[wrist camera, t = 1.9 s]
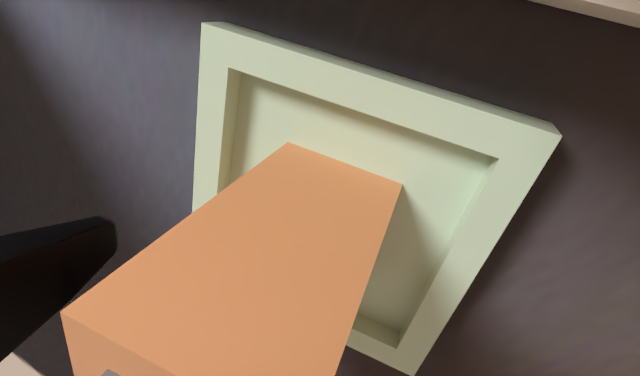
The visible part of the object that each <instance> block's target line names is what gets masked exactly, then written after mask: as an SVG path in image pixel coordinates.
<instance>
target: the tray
mask: <svg viewBox="0 0 640 376" xmlns="http://www.w3.org/2000/svg"><path fill="white" fill-rule="evenodd" d="M561 138H562V135H561V134H560V132H559V131H558V130H557V128H556V127H555V126H554V125H553V123H551V122H548V121H545V120H541V119H538V118H535V117H532V116H529V115H525V114H522V113H519V112H516V111H512V110H509V109H506V108H503V107H500V106H496V105H493V104H490V103H487V102H483V101H480V100H477V99H474V98H470V97H467V96H464V95H461V94H458V93H454V92H451V91H448V90H445V89H441V88H438V87H435V86H432V85H429V84H425V83H422V82H419V81H416V80H412V79H409V78H406V77H403V76H399V75H396V74H393V73H390V72H387V71H383V70H380V69H377V68H374V67H370V66H367V65H364V64H361V63H358V62H354V61H351V60H348V59H345V58H341V57H338V56H335V55H332V54H328V53H325V52H322V51H319V50H316V49H312V48H309V47H306V46H303V45H299V44H296V43H293V42H290V41H287V40H283V39H280V38H277V37H274V36H270V35H267V34H264V33H261V32H257V31H254V30H251V29H248V28H245V27H241V26H238V25H235V24H232V23H228V22H225V21H223V22H202V23H201V43H200V64H199V84H198V104H197V124H196V145H195V165H194V185H193V205H192V213H193V212H194V211H196V210H197V209H198V208H200V207H201V206H202V205H204V204H205V203H206V202H208V201H209V200H210V199H212V198H213V197H214V196H216V195H217V194H218V193H220V192H221V191H223V190H224V189H225V188H227V187H228V186H229V185H231V184H232V183H233V182H235V181H236V180H237V179H239V178H240V177H241V176H243V175H244V174H245V173H247V172H248V171H249V170H251V169H252V168H253V167H255V166H256V165H257V164H259V163H260V162H261V161H263V160H264V159H265V158H267V157H268V156H269V155H271V154H272V153H273V152H275V151H276V150H278V149H279V148H280V147H282V146H283V145H284V144H286V143H287V142H290V143H293V144H295V145H298V146H301V147H303V148H306V149H309V150H312V151H314V152H317V153H320V154H322V155H325V156H328V157H331V158H333V159H336V160H339V161H341V162H344V163H347V164H349V165H352V166H355V167H358V168H360V169H363V170H366V171H368V172H371V173H374V174H376V175H379V176H382V177H385V178H387V179H390V180H393V181H395V182H398V183H401V184H402V187H401V190H400V193H399V196H398V198H397V201H396V204H395V207H394V210H393V213H392V215H391V218H390V221H389V224H388V227H387V230H386V232H385V235H384V238H383V241H382V244H381V246H380V249H379V252H378V255H377V258H376V261H375V263H374V266H373V269H372V272H371V275H370V278H369V280H368V283H367V286H366V289H365V292H364V294H363V297H362V300H361V303H360V306H359V309H358V311H357V314H356V317H355V320H354V323H353V326H352V328H351V331H350V334H349V337H348V340H347V342H346V345H347V346H349V347H351V348H353V349H355V350H357V351H359V352H361V353H363V354H366V355H368V356H370V357H372V358H374V359H376V360H378V361H380V362H382V363H384V364H387V365H389V366H391V367H393V368H395V369H397V370H399V371H401V372H403V373H405V374H408V375H410V376H414V375H415V374H416V372H417V370H418V369H419V367H420V365H421V364H422V362H423V361H424V359H425V357H426V356H427V354H428V353H429V351H430V349H431V348H432V346H433V344H434V343H435V341H436V340H437V338H438V336H439V335H440V333H441V332H442V330H443V328H444V327H445V325H446V324H447V322H448V320H449V319H450V317H451V315H452V314H453V312H454V311H455V309H456V307H457V306H458V304H459V303H460V301H461V299H462V298H463V296H464V294H465V293H466V291H467V290H468V288H469V286H470V285H471V283H472V282H473V280H474V278H475V277H476V275H477V274H478V272H479V270H480V269H481V267H482V265H483V264H484V262H485V261H486V259H487V257H488V256H489V254H490V253H491V251H492V249H493V248H494V246H495V244H496V243H497V241H498V240H499V238H500V236H501V235H502V233H503V232H504V230H505V228H506V227H507V225H508V224H509V222H510V220H511V219H512V217H513V215H514V214H515V212H516V211H517V209H518V207H519V206H520V204H521V203H522V201H523V199H524V198H525V196H526V194H527V193H528V191H529V190H530V188H531V186H532V185H533V183H534V182H535V180H536V178H537V177H538V175H539V174H540V172H541V170H542V169H543V167H544V165H545V164H546V162H547V161H548V159H549V157H550V156H551V154H552V153H553V151H554V149H555V148H556V146H557V144H558V143H559V141H560V140H561Z"/></svg>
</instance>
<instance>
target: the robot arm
mask: <svg viewBox="0 0 640 376" xmlns="http://www.w3.org/2000/svg"><path fill="white" fill-rule="evenodd" d="M117 248H118V238H117V227H116V224H115V222H114V221H112V220H110V219H107V218H105V217H103V216H96V217H91V218H86V219H81V220H76V221H71V222H67V223H62V224H57V225H52V226H47V227H42V228H37V229H32V230H27V231H23V232H18V233H13V234H8V235H3V236H0V362H1V361H2V360H3V359H4V358H6V357H7V356H8V355H9V354H10V353H11V352H12V351H14V350H15V349H16V348H17V347H18V346H19V345H20V344H21V343H23V342H24V341H25V340H26V339H27V338H28V337H29V336H31V335H32V334H33V333H34V332H35V331H36V330H37V329H38V328H40V327H41V326H42V325H43V324H44V323H45V322H46V321H48V320H49V319H50V318H51V317H52V316H53V315H54V314H55V313H57V312H58V311H59V310H60V309H61V308H62V307H63V306H64V305H65V304H67V303H68V302H69V301H70V300H71V299H72V298H73V297H74V296H75V295H76V294H77V293H78V292H79V291H80V290H81V289H82V288H83V287H84V285H85V284H86V283H87V282H88V281H89V280H90V279H91V278H92V277H93V276H94V275H95V274H96V273H97V272H98V271H99V270H100V269H101V268H102V266H103V265H104V264H105V263H106V262H107V261H108V260H109V259H110V258H111V257H112V256H113V255H114V254H115V252H116V250H117Z"/></svg>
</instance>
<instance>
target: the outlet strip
mask: <svg viewBox="0 0 640 376" xmlns="http://www.w3.org/2000/svg"><path fill="white" fill-rule="evenodd" d="M528 1H532V2H536V3H540V4H544V5H548V6H552V7H556V8H560V9H564V10H568V11H572V12H576V13H580V14H584V15H588V16H592V17H596V18H600V19H604V20H608V21H612V22H616V23H620V24H624V25H628V26H632V27H636V28H640V0H528Z"/></svg>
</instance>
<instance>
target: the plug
mask: <svg viewBox="0 0 640 376" xmlns="http://www.w3.org/2000/svg"><path fill="white" fill-rule="evenodd" d="M401 187H402V184H401V183H398V182H395V181H393V180H390V179H387V178H385V177H382V176H379V175H376V174H374V173H371V172H368V171H366V170H363V169H360V168H358V167H355V166H352V165H349V164H347V163H344V162H341V161H339V160H336V159H333V158H331V157H328V156H325V155H322V154H320V153H317V152H314V151H312V150H309V149H306V148H303V147H301V146H298V145H295V144H293V143H290V142H287V143H286V144H284V145H283V146H282V147H280V148H279V149H278V150H276V151H275V152H273V153H272V154H271V155H269V156H268V157H267V158H265V159H264V160H263V161H261V162H260V163H259V164H257V165H256V166H255V167H253V168H252V169H251V170H249V171H248V172H247V173H245V174H244V175H243V176H241V177H240V178H239V179H237V180H236V181H235V182H233V183H232V184H231V185H229V186H228V187H227V188H225V189H224V190H223V191H221V192H220V193H218V194H217V195H216V196H214V197H213V198H212V199H210V200H209V201H208V202H206V203H205V204H204V205H202V206H201V207H200V208H198V209H197V210H196V211H194V212H193V213H192V214H190V215H189V216H188V217H186V218H185V219H184V220H182V221H181V222H180V223H178V224H177V225H176V226H174V227H173V228H172V229H170V230H169V231H168V232H166V233H165V234H164V235H162V236H161V237H159V238H158V239H157V240H155V241H154V242H153V243H151V244H150V245H149V246H147V247H146V248H145V249H143V250H142V251H141V252H139V253H138V254H137V255H135V256H134V257H133V258H131V259H130V260H129V261H127V262H126V263H125V264H123V265H122V266H121V267H119V268H118V269H117V270H115V271H114V272H113V273H111V274H110V275H109V276H107V277H106V278H104V279H103V280H102V281H100V282H99V283H98V284H96V285H95V286H94V287H92V288H91V289H90V290H88V291H87V292H86V293H84V294H83V295H82V296H80V297H79V298H78V299H76V300H75V301H74V302H72V303H71V304H70V305H68V306H67V307H66V308H64V309H63V310H62V311H60V315H61V319H62V324H63V328H64V333H65V337H66V342H67V346H68V351H69V355H70V359H71V364H72V368H73V373H74V376H335V374H336V371H337V368H338V365H339V362H340V359H341V357H342V354H343V351H344V348H345V345H346V342H347V340H348V337H349V334H350V331H351V328H352V326H353V323H354V320H355V317H356V314H357V311H358V309H359V306H360V303H361V300H362V297H363V294H364V292H365V289H366V286H367V283H368V280H369V278H370V275H371V272H372V269H373V266H374V263H375V261H376V258H377V255H378V252H379V249H380V246H381V244H382V241H383V238H384V235H385V232H386V230H387V227H388V224H389V221H390V218H391V215H392V213H393V210H394V207H395V204H396V201H397V198H398V196H399V193H400V190H401Z"/></svg>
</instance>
